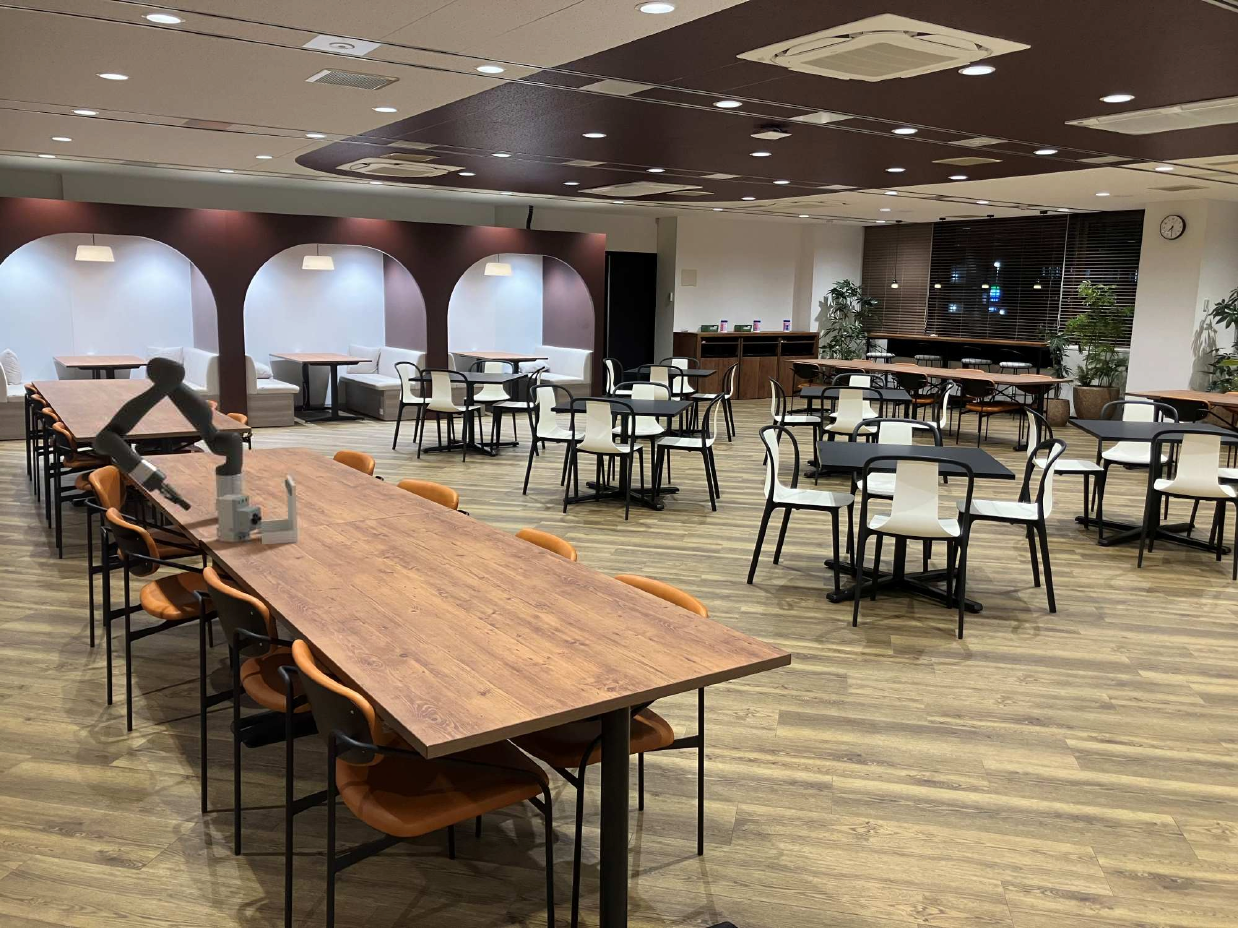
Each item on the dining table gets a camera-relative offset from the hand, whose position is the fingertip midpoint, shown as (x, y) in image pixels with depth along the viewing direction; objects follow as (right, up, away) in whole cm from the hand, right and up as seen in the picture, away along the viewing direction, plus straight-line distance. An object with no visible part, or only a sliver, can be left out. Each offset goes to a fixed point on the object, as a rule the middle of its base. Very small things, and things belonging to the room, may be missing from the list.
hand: (189, 508), depth 336 cm
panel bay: (+26, -11, +13) cm, 31 cm away
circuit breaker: (+15, -11, +9) cm, 20 cm away
